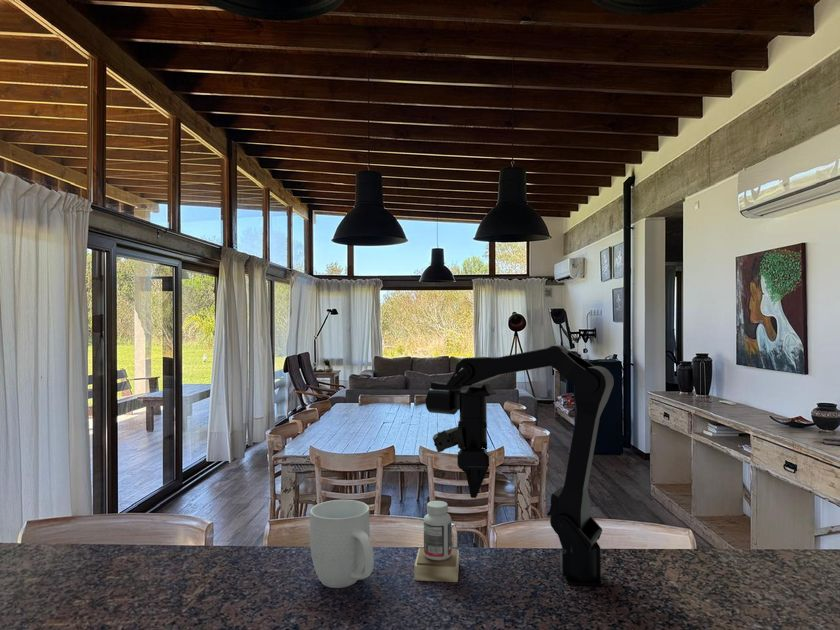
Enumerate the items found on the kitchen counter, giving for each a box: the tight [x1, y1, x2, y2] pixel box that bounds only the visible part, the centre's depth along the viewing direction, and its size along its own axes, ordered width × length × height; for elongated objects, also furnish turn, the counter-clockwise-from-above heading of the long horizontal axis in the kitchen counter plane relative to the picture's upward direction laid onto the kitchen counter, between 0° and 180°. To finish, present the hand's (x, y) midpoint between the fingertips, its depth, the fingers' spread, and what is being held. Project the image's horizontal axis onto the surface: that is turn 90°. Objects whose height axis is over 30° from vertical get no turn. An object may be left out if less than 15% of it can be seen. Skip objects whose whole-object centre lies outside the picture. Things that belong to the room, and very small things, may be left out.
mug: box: [309, 499, 375, 589], centre depth 94 cm, size 15×11×13 cm
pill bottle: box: [423, 500, 453, 561], centre depth 98 cm, size 5×5×10 cm
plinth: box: [413, 546, 460, 583], centre depth 98 cm, size 8×8×3 cm
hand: (473, 490), depth 108 cm, fingers open, 9 cm apart
